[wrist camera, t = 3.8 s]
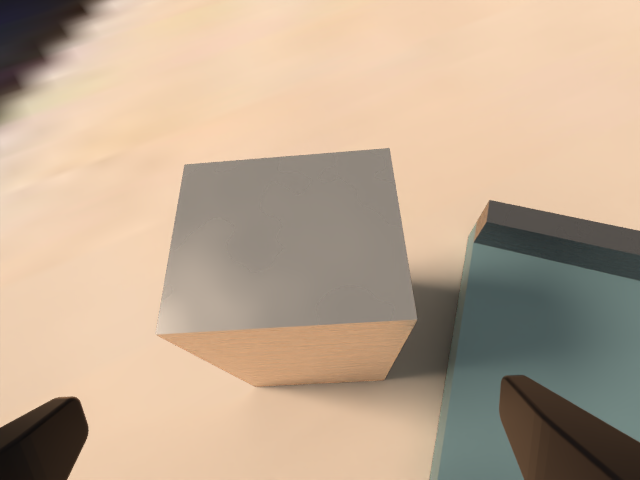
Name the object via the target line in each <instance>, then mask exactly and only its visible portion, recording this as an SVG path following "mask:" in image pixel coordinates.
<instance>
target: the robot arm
mask: <svg viewBox="0 0 640 480" xmlns="http://www.w3.org/2000/svg"><path fill="white" fill-rule="evenodd" d="M499 415H500V419H501V422H502V425H503V427H504V430H505V432H506V435H507V437H508V440H509V442H510V445H511V447H512V450H513V453H514V455H515V458H516V460H517V463H518V465H519V468H520V470H521V473H522V476H523V478H524V480H640V442H639V441H637V440H635V439H633V438H632V437H630V436H628V435H627V434H625V433H623V432H621V431H620V430H618V429H616V428H615V427H613V426H611V425H609V424H608V423H606V422H604V421H603V420H601V419H599V418H597V417H596V416H594V415H592V414H591V413H589V412H587V411H585V410H584V409H582V408H580V407H578V406H577V405H575V404H573V403H572V402H570V401H568V400H566V399H565V398H563V397H561V396H560V395H558V394H556V393H554V392H553V391H551V390H549V389H548V388H546V387H544V386H542V385H541V384H539V383H537V382H536V381H534V380H532V379H530V378H529V377H527V376H525V375H506V376H504V377H503V378H502V380H501V387H500V400H499ZM87 436H88V424H87V420H86V417H85V414H84V411H83V408H82V405H81V402H80V400H79V399H78V398H76V397H58V398H55V399H52V400H51V401H49V402H47V403H45V404H43V405H41V406H39V407H38V408H36V409H34V410H32V411H30V412H28V413H27V414H25V415H23V416H21V417H19V418H17V419H15V420H14V421H12V422H10V423H8V424H6V425H4V426H3V427H1V428H0V480H67V479H68V477H69V475H70V473H71V470H72V468H73V466H74V464H75V462H76V460H77V458H78V456H79V454H80V452H81V450H82V448H83V446H84V444H85V441H86V439H87Z"/></svg>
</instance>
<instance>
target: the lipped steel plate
mask: <svg viewBox="0 0 640 480" xmlns="http://www.w3.org/2000/svg"><path fill="white" fill-rule="evenodd" d="M506 375H525V376H527V377H529V378H530V379H532V380H534V381H536V382H537V383H539V384H541V385H542V386H544V387H546V388H548V389H549V390H551V391H553V392H554V393H556V394H558V395H560V396H561V397H563V398H565V399H566V400H568V401H570V402H572V403H573V404H575V405H577V406H578V407H580V408H582V409H584V410H585V411H587V412H589V413H591V414H592V415H594V416H596V417H597V418H599V419H601V420H603V421H604V422H606V423H608V424H609V425H611V426H613V427H615V428H616V429H618V430H620V431H621V432H623V433H625V434H627V435H628V436H630V437H632V438H633V439H635V440H637V441H639V442H640V231H637V230H632V229H628V228H623V227H618V226H613V225H608V224H603V223H598V222H593V221H589V220H584V219H579V218H574V217H569V216H564V215H559V214H555V213H550V212H545V211H540V210H535V209H530V208H525V207H521V206H516V205H511V204H506V203H501V202H496V201H491V200H489V202H488V204H487V205H486V207H485V209H484V210H483V212H482V214H481V216H480V217H479V219H478V221H477V223H476V224H475V226H474V228H473V229H472V231H471V233H470V235H469V236H468V242H467V249H466V255H465V261H464V267H463V274H462V280H461V286H460V292H459V299H458V305H457V311H456V317H455V324H454V330H453V336H452V342H451V349H450V355H449V361H448V367H447V373H446V380H445V386H444V392H443V398H442V405H441V411H440V417H439V423H438V430H437V436H436V442H435V448H434V455H433V461H432V467H431V473H430V480H524V478H523V476H522V473H521V470H520V468H519V465H518V463H517V460H516V458H515V455H514V453H513V450H512V447H511V445H510V442H509V440H508V437H507V435H506V432H505V430H504V427H503V425H502V422H501V419H500V415H499V400H500V387H501V380H502V378H503V377H504V376H506Z"/></svg>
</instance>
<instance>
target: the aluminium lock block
mask: <svg viewBox="0 0 640 480" xmlns="http://www.w3.org/2000/svg"><path fill="white" fill-rule="evenodd" d="M417 320H418V319H417V313H416V307H415V301H414V295H413V289H412V283H411V277H410V271H409V264H408V258H407V252H406V246H405V240H404V234H403V228H402V222H401V216H400V210H399V203H398V197H397V191H396V185H395V179H394V173H393V167H392V161H391V155H390V149H389V148H386V149H373V150H361V151H348V152H336V153H324V154H311V155H299V156H286V157H274V158H261V159H249V160H236V161H224V162H211V163H199V164H187V165H184V171H183V177H182V183H181V188H180V194H179V200H178V206H177V212H176V217H175V223H174V229H173V235H172V241H171V246H170V252H169V258H168V264H167V270H166V275H165V281H164V287H163V293H162V299H161V305H160V310H159V316H158V322H157V328H156V334H155V335H157V336H159V337H161V338H163V339H165V340H167V341H169V342H170V343H172V344H174V345H176V346H178V347H180V348H182V349H184V350H186V351H188V352H190V353H191V354H193V355H195V356H197V357H199V358H201V359H203V360H205V361H207V362H209V363H211V364H212V365H214V366H216V367H218V368H220V369H222V370H224V371H226V372H228V373H230V374H232V375H233V376H235V377H237V378H239V379H241V380H243V381H245V382H247V383H249V384H251V385H253V386H255V387H260V386H280V385H301V384H321V383H341V382H361V381H381V380H384V379H385V377H386V376H387V374H388V372H389V370H390V368H391V367H392V365H393V363H394V361H395V359H396V358H397V356H398V354H399V352H400V350H401V348H402V347H403V345H404V343H405V341H406V339H407V338H408V336H409V334H410V332H411V330H412V329H413V327H414V325H415V323H416V321H417Z"/></svg>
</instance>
